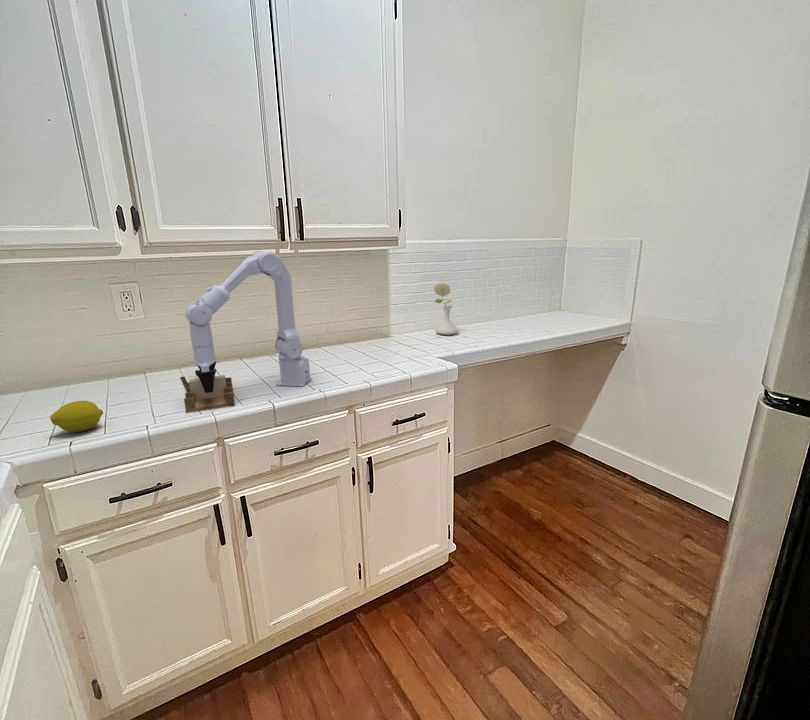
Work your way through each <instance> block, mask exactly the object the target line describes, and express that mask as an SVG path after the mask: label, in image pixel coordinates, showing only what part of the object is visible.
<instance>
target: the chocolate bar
mask: <svg viewBox="0 0 810 720" xmlns="http://www.w3.org/2000/svg"><path fill="white" fill-rule="evenodd" d="M197 378H198V376H197V375H196V374H191V375H184V376H180V381H181V380H182V381H181V383H182V382H183V383H182V385H183V387H184V389H185V390H186V388H187V387H188V386H187V383H189V379H197Z"/></svg>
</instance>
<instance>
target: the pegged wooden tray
mask: <svg viewBox="0 0 810 720" xmlns="http://www.w3.org/2000/svg"><path fill="white" fill-rule="evenodd" d="M225 379H226V386H227V387H226V388H224V396H222V397H215V398H208V399H200V400H196V398H195V392H190V386H189V383H187V386H188V387H187V388H186V389H185V390H186V392H185V393H184V395H185V398H184V399H183V401H184V408H185V413H186V414H188V413H193V412H201V411H205V410H207V409H208V410H213V409H220V408H221V409H222V408H228V407H234V406H235V405H236V404H235V397H234V387H233V381H232V376H230V377H229V376H228V377H225Z"/></svg>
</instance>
